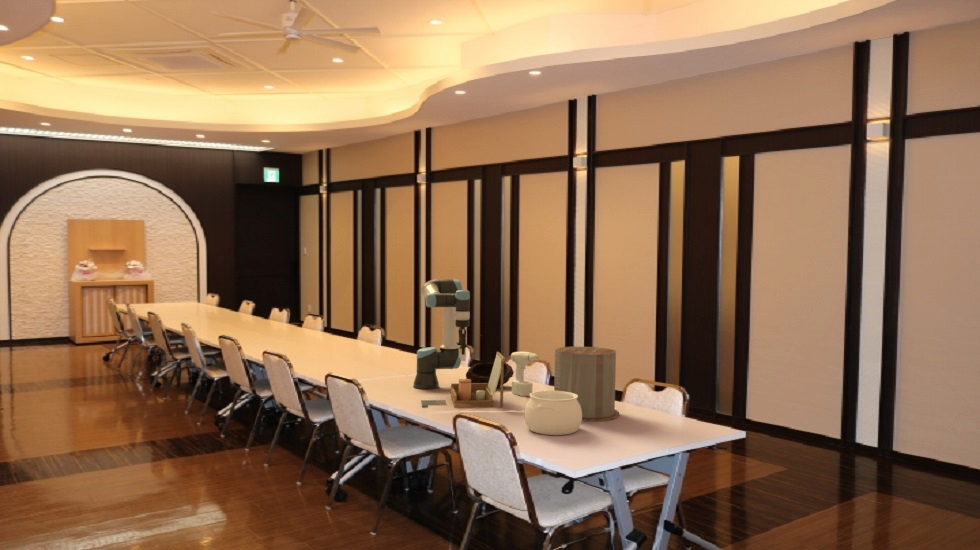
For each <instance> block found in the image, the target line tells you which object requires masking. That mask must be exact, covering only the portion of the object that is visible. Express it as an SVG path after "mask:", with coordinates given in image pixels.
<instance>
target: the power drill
mask: <svg viewBox="0 0 980 550" xmlns="http://www.w3.org/2000/svg"><path fill="white" fill-rule="evenodd" d="M510 359H511V361H512V362H513V363H515V364H516V366H515V380H511V393H512V394H514V395H517V396H519V395H520V397H530V396H529V395H530V393H532V392H533V385H534V384H533V382H530V381H528V380H525V370H526V366H527V365H529V364H530V363H533V362H535V363H536V362H537V361H538V360H539V359H540V357H539V355H538V354H537V353H533V352H530V351H514V352H512V353H511V354H510Z"/></svg>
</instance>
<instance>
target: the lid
mask: <svg viewBox="0 0 980 550" xmlns="http://www.w3.org/2000/svg"><path fill="white" fill-rule="evenodd" d="M495 354H496V355H495V358H494V361H493V362H494V365H493V369H492V372H491V376H490V380H489V383H488V389H489V390H490V392H491V393H492V395H495V394H496V390H497V388H498V387H497V384H498V380H499V377H500V373H501V359H504V361H505V360H506V358H505V356H504V355H502V353H500V352H499V351H496V353H495Z"/></svg>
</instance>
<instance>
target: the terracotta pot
mask: <svg viewBox="0 0 980 550" xmlns="http://www.w3.org/2000/svg"><path fill="white" fill-rule="evenodd" d="M458 383H459V401H471V380H470V379H466V378H460V379H458Z"/></svg>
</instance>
